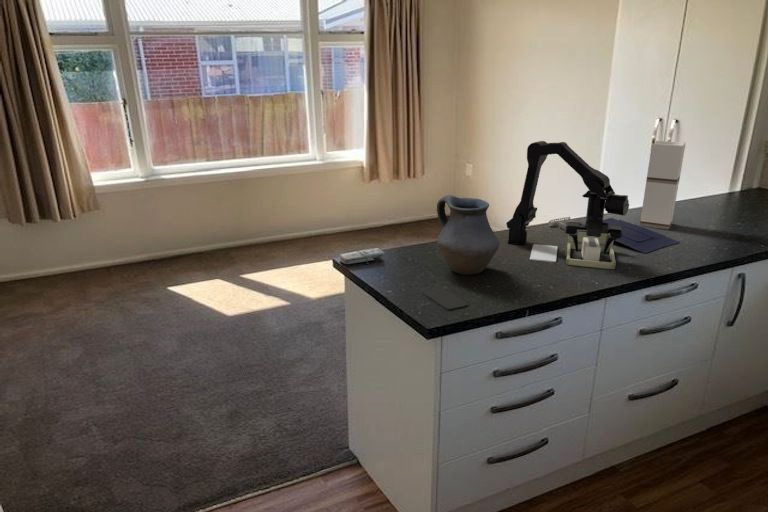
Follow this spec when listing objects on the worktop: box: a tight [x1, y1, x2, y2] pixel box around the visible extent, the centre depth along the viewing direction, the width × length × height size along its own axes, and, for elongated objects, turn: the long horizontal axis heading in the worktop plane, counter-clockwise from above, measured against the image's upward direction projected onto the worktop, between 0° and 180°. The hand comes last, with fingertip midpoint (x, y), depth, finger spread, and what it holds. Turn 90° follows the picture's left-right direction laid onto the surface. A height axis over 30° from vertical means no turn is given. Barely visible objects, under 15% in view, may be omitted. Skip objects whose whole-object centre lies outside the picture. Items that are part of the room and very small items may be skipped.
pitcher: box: [436, 194, 500, 276], centre depth 191 cm, size 21×22×25 cm
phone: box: [422, 287, 468, 311], centre depth 171 cm, size 7×1×15 cm
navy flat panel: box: [582, 217, 680, 254], centre depth 228 cm, size 24×30×4 cm
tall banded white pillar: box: [639, 140, 686, 230], centre depth 242 cm, size 11×11×35 cm
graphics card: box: [547, 216, 585, 230], centre depth 241 cm, size 17×4×12 cm
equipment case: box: [565, 231, 617, 270], centre depth 206 cm, size 16×21×8 cm
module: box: [581, 237, 601, 261], centre depth 206 cm, size 5×12×7 cm, turn 166°
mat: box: [529, 243, 559, 263], centre depth 211 cm, size 9×18×1 cm, turn 162°
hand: (590, 253), depth 206 cm, fingers open, 9 cm apart
